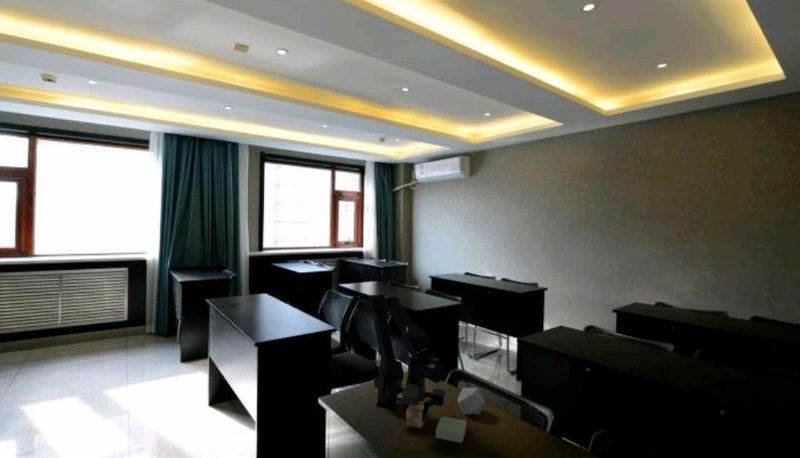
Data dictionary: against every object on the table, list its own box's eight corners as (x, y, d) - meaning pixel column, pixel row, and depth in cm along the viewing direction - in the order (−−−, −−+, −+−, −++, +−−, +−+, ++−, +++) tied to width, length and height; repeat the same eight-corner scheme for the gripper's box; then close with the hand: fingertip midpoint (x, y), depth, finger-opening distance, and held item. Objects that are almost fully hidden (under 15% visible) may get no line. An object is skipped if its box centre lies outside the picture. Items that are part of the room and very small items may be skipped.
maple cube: (406, 425, 120) (406, 409, 120) (410, 417, 125) (410, 402, 125) (421, 428, 119) (421, 412, 119) (425, 420, 123) (425, 405, 123)
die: (478, 424, 123) (492, 396, 126) (454, 408, 124) (468, 380, 127) (472, 420, 131) (486, 394, 134) (450, 405, 132) (464, 380, 135)
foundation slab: (435, 438, 114) (435, 429, 114) (441, 425, 121) (441, 416, 121) (462, 444, 111) (462, 434, 111) (466, 430, 119) (466, 420, 119)
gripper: (380, 377, 117) (379, 427, 117) (439, 386, 111) (438, 438, 111) (392, 364, 127) (391, 410, 128) (447, 372, 122) (446, 420, 122)
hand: (415, 419), depth 122 cm, fingers closed on maple cube, 5 cm apart
